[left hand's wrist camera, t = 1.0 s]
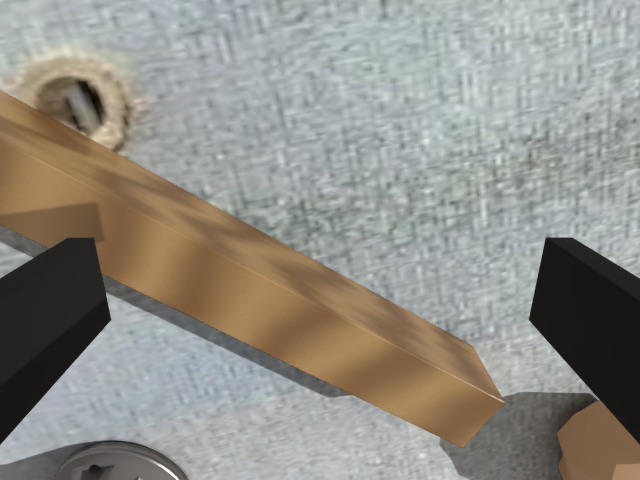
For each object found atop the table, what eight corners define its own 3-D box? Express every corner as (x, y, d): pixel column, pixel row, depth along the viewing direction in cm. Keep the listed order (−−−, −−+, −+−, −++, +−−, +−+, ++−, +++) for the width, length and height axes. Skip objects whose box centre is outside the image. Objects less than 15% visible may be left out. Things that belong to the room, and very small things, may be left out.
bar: (472, 345, 40) (505, 402, 33) (438, 385, 41) (462, 448, 34) (-590, -230, 25) (-948, -353, 18) (-575, -131, 27) (-896, -208, 20)
